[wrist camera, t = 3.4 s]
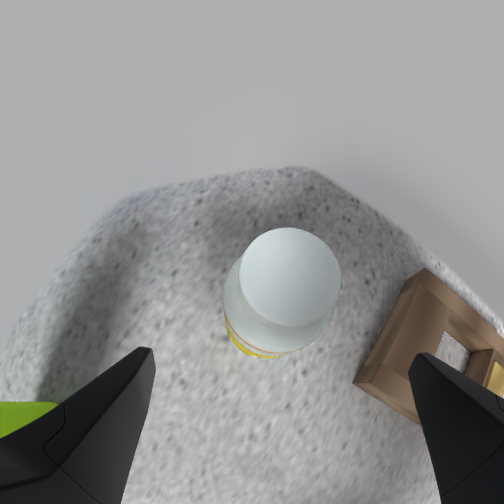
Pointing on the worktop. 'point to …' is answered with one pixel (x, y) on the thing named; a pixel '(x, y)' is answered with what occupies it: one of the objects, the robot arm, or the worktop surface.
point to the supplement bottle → (280, 293)
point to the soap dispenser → (21, 414)
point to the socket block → (428, 342)
